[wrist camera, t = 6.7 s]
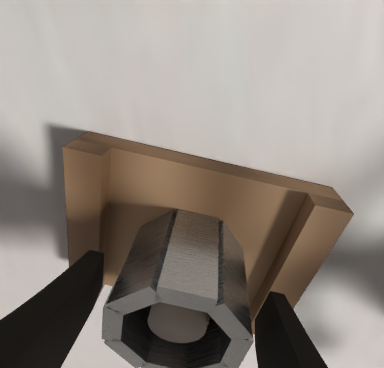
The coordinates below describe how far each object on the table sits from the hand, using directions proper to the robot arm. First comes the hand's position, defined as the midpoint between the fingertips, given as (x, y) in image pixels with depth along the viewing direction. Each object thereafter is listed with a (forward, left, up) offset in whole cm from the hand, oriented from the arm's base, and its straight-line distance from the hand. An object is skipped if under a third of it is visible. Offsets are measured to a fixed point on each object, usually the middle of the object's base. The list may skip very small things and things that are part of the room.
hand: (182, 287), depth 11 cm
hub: (0, -1, -3) cm, 3 cm away
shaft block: (0, 0, -4) cm, 4 cm away
